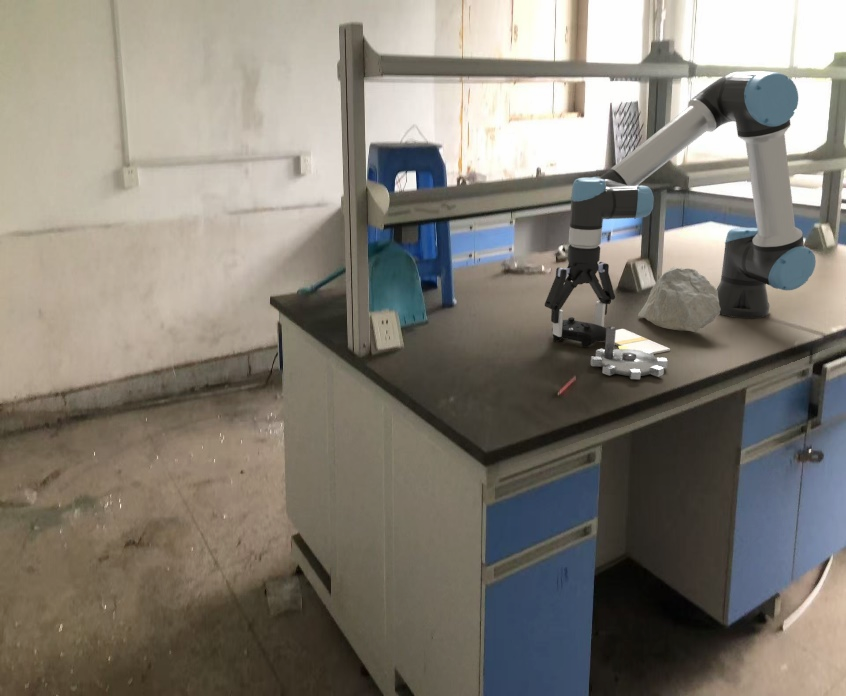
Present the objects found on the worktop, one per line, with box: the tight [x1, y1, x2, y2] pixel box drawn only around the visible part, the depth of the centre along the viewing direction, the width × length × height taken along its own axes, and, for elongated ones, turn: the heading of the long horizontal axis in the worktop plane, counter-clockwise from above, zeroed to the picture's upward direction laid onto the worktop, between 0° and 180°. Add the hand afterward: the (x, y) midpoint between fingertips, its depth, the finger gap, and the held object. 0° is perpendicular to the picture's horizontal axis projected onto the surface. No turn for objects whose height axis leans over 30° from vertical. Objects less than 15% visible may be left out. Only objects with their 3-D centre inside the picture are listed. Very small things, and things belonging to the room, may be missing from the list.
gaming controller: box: [551, 317, 607, 348], centre depth 194 cm, size 14×6×10 cm
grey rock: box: [637, 266, 721, 333], centre depth 202 cm, size 22×13×15 cm, turn 31°
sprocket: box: [590, 326, 668, 380], centre depth 176 cm, size 17×17×9 cm
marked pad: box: [614, 328, 671, 355], centre depth 194 cm, size 9×17×1 cm, turn 26°
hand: (578, 331), depth 194 cm, fingers closed on gaming controller, 12 cm apart
